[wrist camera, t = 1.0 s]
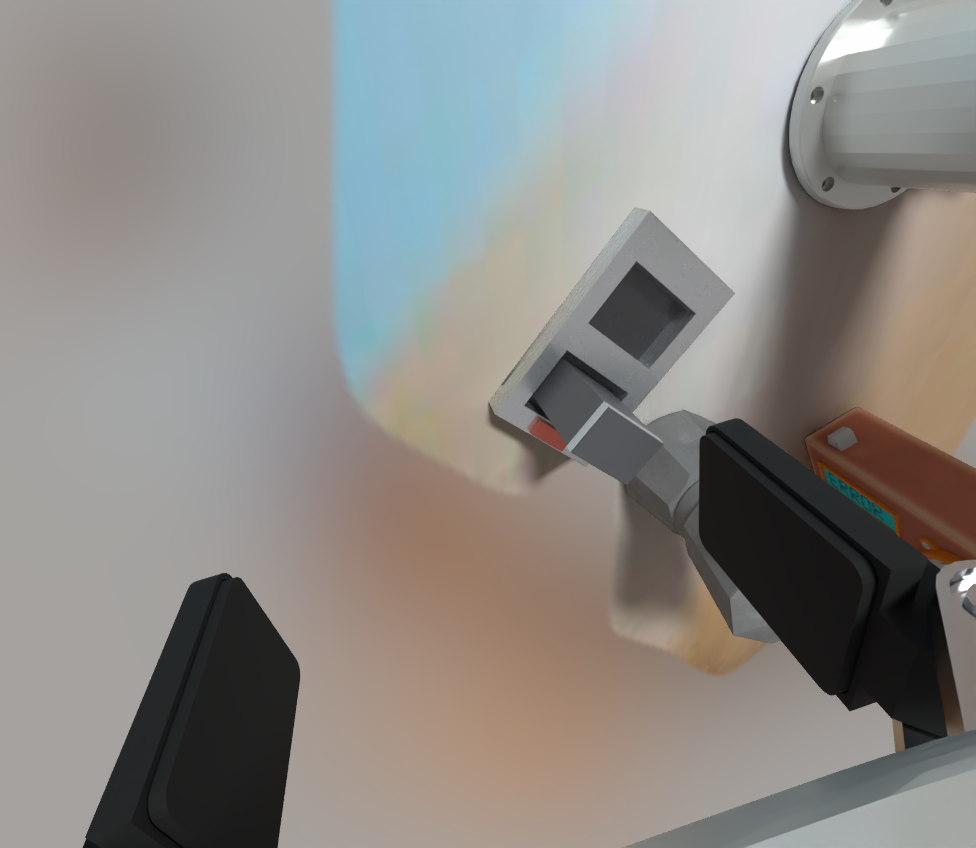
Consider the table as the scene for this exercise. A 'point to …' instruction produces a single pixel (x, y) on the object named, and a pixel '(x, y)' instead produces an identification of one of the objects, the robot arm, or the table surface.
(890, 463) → the control panel
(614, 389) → the power strip
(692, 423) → the coffeepot
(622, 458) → the plug
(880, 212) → the table surface
